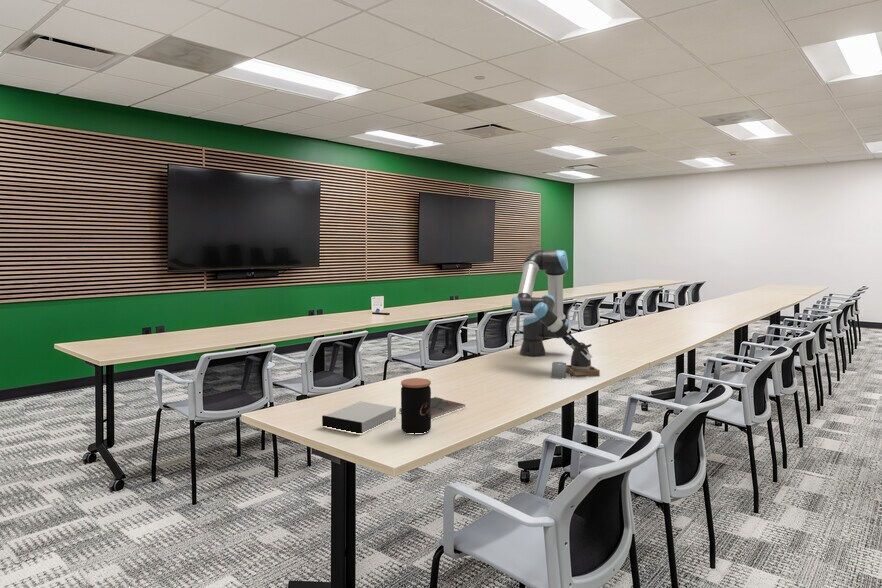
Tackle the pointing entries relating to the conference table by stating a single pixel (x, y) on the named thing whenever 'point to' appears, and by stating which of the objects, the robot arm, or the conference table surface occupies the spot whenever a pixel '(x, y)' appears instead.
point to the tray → (582, 372)
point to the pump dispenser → (580, 359)
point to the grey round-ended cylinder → (558, 370)
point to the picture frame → (442, 407)
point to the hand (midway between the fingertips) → (585, 355)
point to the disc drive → (359, 417)
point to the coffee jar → (415, 405)
